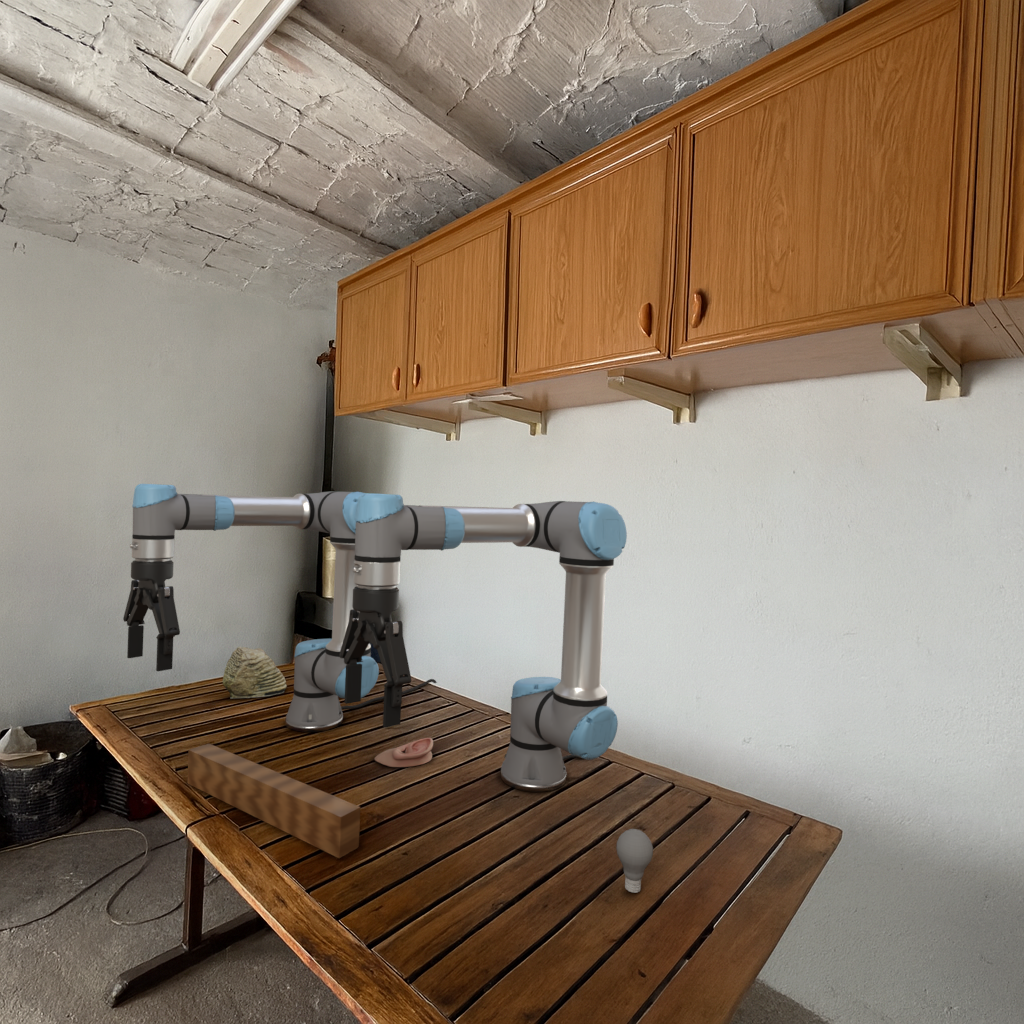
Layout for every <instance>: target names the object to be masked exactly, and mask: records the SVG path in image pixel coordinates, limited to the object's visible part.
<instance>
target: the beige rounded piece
mask: <svg viewBox="0 0 1024 1024" xmlns="http://www.w3.org/2000/svg"><path fill="white" fill-rule="evenodd" d="M433 747H434V740H433V738H432V737H423V738H421V739H417V740H413V741H411V742H408V743H405V744H402V745H400V746H397V747H392V748H389V749H386V750H384V751H382V752H380V753H379V754H377V755H376V756H375V757H374V761H375V762H377V763H378V764H381V765H384V766H387V767H390V768H407V767H415V766H420V765H424V764H427V763H429V762H430V761H432V759H433V753H432V750H433Z"/></svg>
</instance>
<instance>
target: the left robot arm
mask: <svg viewBox="0 0 1024 1024" xmlns="http://www.w3.org/2000/svg"><path fill="white" fill-rule="evenodd" d="M364 493H365V492H363V491H362V492H361V491H337V490H336V491H335V490H333V491H321V492H311V493H296V494H294V495H293V496H269V495H266V496H265V495H238V494H237V495H235V494H233V495H232V494H203V493H202V494H197V493H178V491H177V488H176V486H175V485H173V484H159V483H158V484H157V483H139V484H137V485H136V486H135V488H134V492H133V499H132V536H131V537H132V538H131V543H130V544H129V548H130V549H131V558H132V559H133V560H132V561H131V562H130V578H131V582H130V590H129V591H130V592H129V595H128V598H127V603H126V606H125V610H124V614H123V618H122V621H123V622H124V623H125V622H126V626H127V627H128V628H127V651H126V653H127V656H126V658H127V659H134V658H141V657H143V656H144V629H145V626H144V625H146V623H145V620H144V619H145V617H146V615H147V612H148V611H149V610H150V611H152V615H153V617H154V621H155V625H156V629H157V631H158V634H157V635H156V637H155V638H156V663H155V665H156V669H155V671H156V672H163V671H169V670H173V662H174V661H173V660H174V659H173V657H174V655H173V654H174V637H176V636H179V635H180V634H181V630H180V625H179V624H180V623H179V618H178V614H177V608H176V602H175V598H174V597H175V596H174V595H175V594H174V593H175V592H174V586H172V585H169V586H166V581H167V580H171V579H172V578H173V577H174V561H173V560H171V559H173V558H174V557H175V538H176V537H175V535H176V531H224V530H227V529H229V528H230V527H292V526H293V528H294V529H296V530H308V531H309V530H310V531H316V532H319V533H320V532H321V533H325V534H329V543H330V545H332V547H333V548H334V549H335V554H334V555H335V558H334V581H333V586H334V587H333V604H332V605H333V606H332V629H331V630H332V631H331V638H317V639H308V640H304V641H300V642H299V643H297V645H296V646H295V650H294V655H293V657H294V672H293V673H294V674H293V695H292V696H293V697H292V699H291V702H290V704H289V708H288V711H287V713H286V715H285V726H286V728H287V729H289V730H291V731H294V732H295V731H296V732H301V733H316V732H325V731H329V730H332V729H335V728H337V727H339V726H340V725H342V723H343V722H344V714H343V710H353V709H354V710H355V709H359V708H362V707H364V706H367V705H369V704H371V703H374V702H379V701H384V695H383V696H379V697H373V698H371V699H367V700H366V701H364V702H361V703H358V704H353V705H341V702H340V699H339V698H341V699H343V700H345V677H346V664H345V663H344V658H340V656H339V655H340V650H341V647H342V643H343V640H344V637H345V633H346V630H347V626H348V623H349V615H350V610H352V609H353V607H352V602H353V589H354V588H355V587H356V586H357V585H356V584H355V583H354V572H353V570H352V569H353V567H354V562H355V531H356V522H355V518H356V508H357V502H358V498H359V496H360V495H362V494H364ZM348 650H349V649H347V651H348ZM371 652H372V644H371V643H369V645H368V646H367V648H366V650H365V652H364V654H363V656H362V660H361V661H363V662H358V663H357V664H362V681H361V699H362V698H364V697H365V696H367V695H368V694H370V692H371V690H372V689H374V687H375V685H376V683H377V682H378V678H379V674H380V670H379V669H380V668H379V665H378V662H376V660H375V659H374V657H372V656H371V655H372V653H371ZM430 683H433V684H437V683H438V682H437V681H436V679H434V678H430V679H428V680H426V681H424V682H422V683H419V684H417V685H416V686H413V687H411V688H409V689H408V688H407V689H406V690H402V696H403V695H405V694H409V693H411V692H414V691H416V690H418V689H420V688H422V687H425V686H426V685H428V684H430Z"/></svg>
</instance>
